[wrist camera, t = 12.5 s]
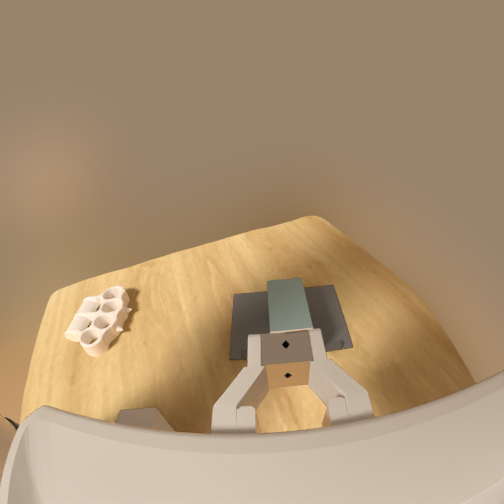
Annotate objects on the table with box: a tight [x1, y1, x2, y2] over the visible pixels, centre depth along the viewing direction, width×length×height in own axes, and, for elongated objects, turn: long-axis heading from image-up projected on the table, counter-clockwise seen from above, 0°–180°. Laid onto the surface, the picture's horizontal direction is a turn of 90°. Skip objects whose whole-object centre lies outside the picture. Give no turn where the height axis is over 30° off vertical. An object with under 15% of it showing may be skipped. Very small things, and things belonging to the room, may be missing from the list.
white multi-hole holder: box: [65, 286, 132, 356], centre depth 52 cm, size 3×18×15 cm
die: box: [115, 407, 175, 431], centre depth 28 cm, size 8×9×10 cm
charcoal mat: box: [230, 285, 353, 360], centre depth 49 cm, size 20×16×1 cm
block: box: [267, 278, 313, 333], centre depth 44 cm, size 6×6×14 cm
